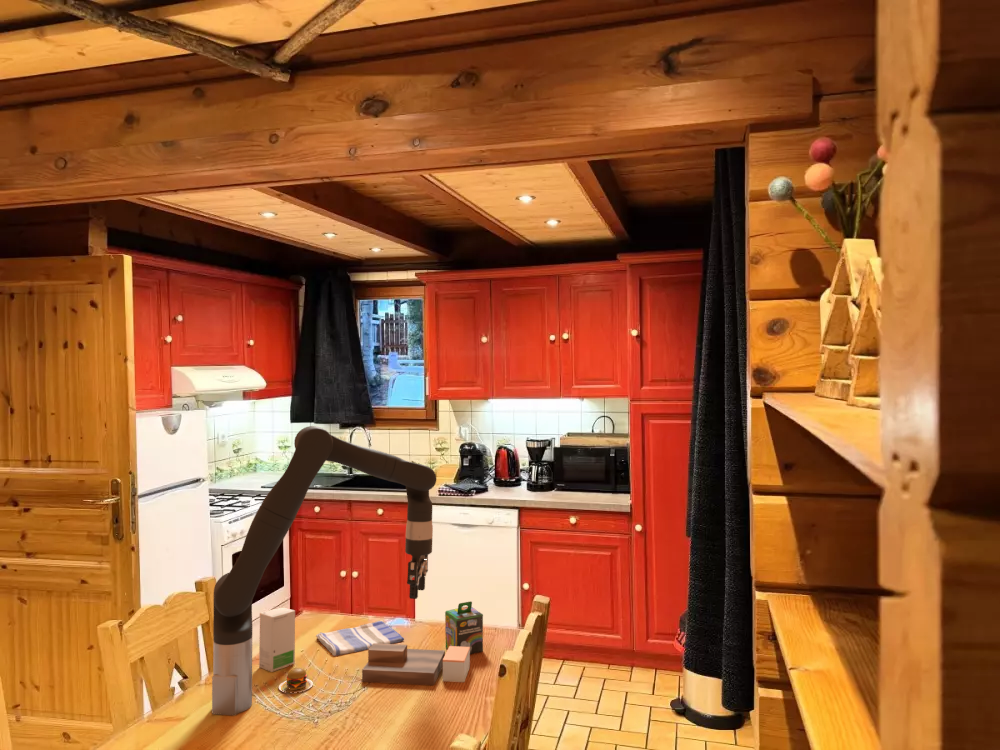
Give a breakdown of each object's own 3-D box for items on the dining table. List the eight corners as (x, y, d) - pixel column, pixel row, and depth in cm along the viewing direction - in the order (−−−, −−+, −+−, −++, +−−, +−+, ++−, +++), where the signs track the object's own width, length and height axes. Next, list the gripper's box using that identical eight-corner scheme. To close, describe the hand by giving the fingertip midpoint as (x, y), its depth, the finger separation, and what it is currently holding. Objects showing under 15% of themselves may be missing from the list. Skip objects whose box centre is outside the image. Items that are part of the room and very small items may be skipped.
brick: (442, 659, 191) (442, 681, 191) (464, 660, 190) (464, 682, 190) (449, 646, 201) (449, 666, 201) (469, 646, 200) (469, 667, 200)
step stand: (433, 685, 188) (433, 660, 188) (362, 681, 190) (362, 657, 190) (445, 661, 204) (445, 639, 204) (378, 658, 206) (378, 636, 206)
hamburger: (266, 686, 189) (266, 666, 189) (310, 676, 195) (310, 656, 196) (280, 703, 179) (280, 682, 179) (325, 691, 186) (325, 671, 186)
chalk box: (471, 642, 220) (471, 595, 220) (484, 651, 212) (484, 603, 212) (444, 647, 215) (444, 599, 215) (456, 657, 207) (456, 607, 207)
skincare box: (271, 673, 196) (271, 617, 196) (257, 667, 200) (257, 613, 200) (296, 663, 203) (296, 610, 203) (282, 658, 207) (282, 605, 207)
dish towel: (314, 640, 222) (314, 631, 222) (383, 627, 235) (383, 618, 235) (332, 659, 207) (332, 649, 207) (404, 643, 220) (404, 634, 220)
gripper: (426, 542, 188) (424, 602, 187) (437, 531, 202) (435, 587, 201) (399, 540, 189) (397, 600, 188) (412, 530, 203) (410, 586, 202)
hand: (417, 594), depth 195 cm, fingers open, 8 cm apart
